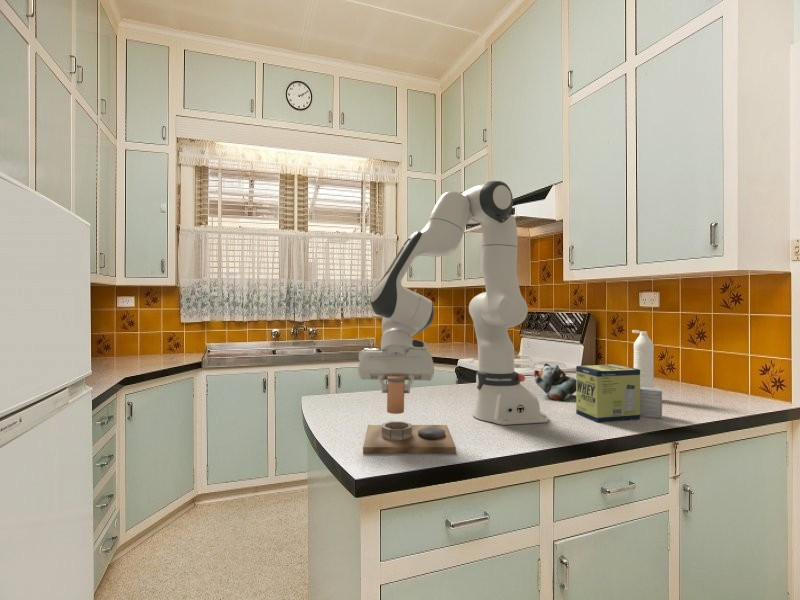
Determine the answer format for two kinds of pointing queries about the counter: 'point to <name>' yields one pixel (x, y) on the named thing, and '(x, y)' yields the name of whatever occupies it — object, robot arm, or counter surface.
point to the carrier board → (408, 438)
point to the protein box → (608, 392)
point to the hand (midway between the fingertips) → (395, 392)
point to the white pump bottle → (644, 358)
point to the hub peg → (395, 394)
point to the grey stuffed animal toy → (555, 382)
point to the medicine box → (650, 402)
